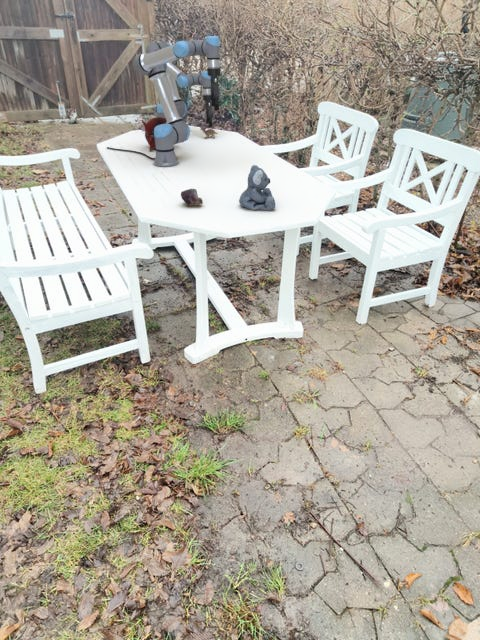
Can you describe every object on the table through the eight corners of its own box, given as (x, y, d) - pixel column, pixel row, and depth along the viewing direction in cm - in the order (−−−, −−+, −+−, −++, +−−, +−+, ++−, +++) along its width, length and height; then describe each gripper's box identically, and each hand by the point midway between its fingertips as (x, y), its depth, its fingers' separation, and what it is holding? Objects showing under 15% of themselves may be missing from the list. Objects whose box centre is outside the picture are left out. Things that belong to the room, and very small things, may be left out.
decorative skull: (144, 123, 333) (138, 119, 309) (175, 116, 332) (171, 112, 308) (152, 153, 340) (146, 152, 316) (182, 146, 339) (179, 144, 315)
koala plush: (276, 211, 223) (277, 171, 212) (240, 212, 222) (240, 172, 211) (271, 199, 237) (272, 161, 226) (237, 200, 236) (237, 162, 225)
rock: (196, 202, 238) (178, 205, 233) (194, 185, 234) (176, 188, 230) (205, 205, 228) (187, 208, 224) (203, 188, 224) (185, 191, 220)
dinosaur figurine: (201, 139, 351) (200, 126, 345) (200, 137, 355) (199, 124, 350) (218, 138, 353) (218, 125, 347) (217, 136, 357) (217, 124, 352)
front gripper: (223, 69, 248) (224, 111, 260) (217, 65, 268) (218, 104, 280) (209, 70, 247) (211, 112, 259) (204, 65, 267) (206, 104, 279)
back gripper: (214, 96, 327) (216, 127, 339) (210, 92, 347) (212, 121, 359) (204, 97, 326) (206, 128, 338) (201, 92, 346) (203, 122, 358)
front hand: (215, 108), depth 269 cm, fingers open, 13 cm apart
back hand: (209, 125), depth 348 cm, fingers open, 13 cm apart
